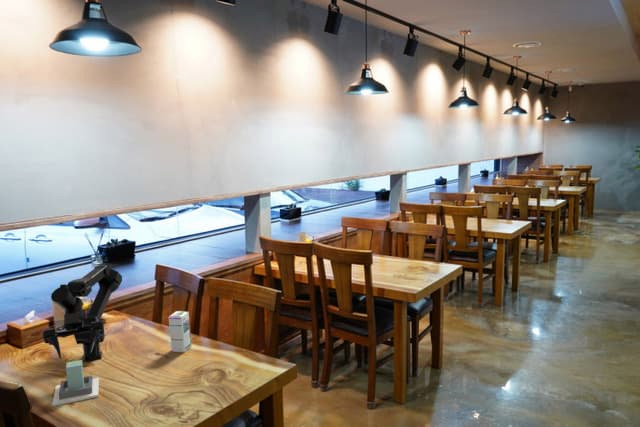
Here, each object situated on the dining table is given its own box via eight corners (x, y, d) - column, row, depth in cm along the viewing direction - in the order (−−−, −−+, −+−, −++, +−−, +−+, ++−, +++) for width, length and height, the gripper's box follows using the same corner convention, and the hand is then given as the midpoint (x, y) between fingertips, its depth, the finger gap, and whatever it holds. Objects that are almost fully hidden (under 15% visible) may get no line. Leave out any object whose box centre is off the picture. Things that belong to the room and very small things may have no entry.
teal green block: (69, 388, 163) (67, 362, 162) (84, 385, 165) (81, 359, 163) (68, 394, 159) (65, 367, 158) (83, 391, 161) (81, 365, 159)
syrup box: (185, 352, 191) (182, 316, 189) (170, 351, 192) (168, 315, 190) (191, 346, 196) (189, 311, 194) (178, 345, 198) (175, 310, 196)
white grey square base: (56, 387, 165) (55, 379, 165) (98, 379, 170) (98, 371, 170) (52, 406, 154) (51, 397, 153) (98, 396, 159) (97, 388, 158)
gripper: (40, 306, 165) (40, 350, 157) (101, 298, 173) (104, 339, 164) (45, 321, 174) (45, 364, 165) (103, 313, 181) (106, 353, 173)
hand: (75, 355), depth 167 cm, fingers open, 9 cm apart
